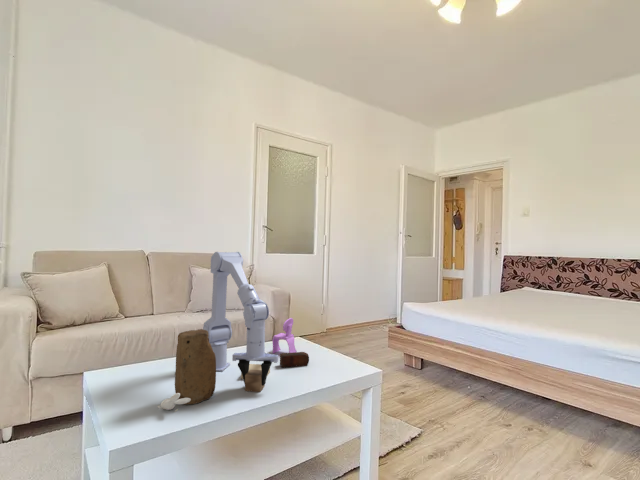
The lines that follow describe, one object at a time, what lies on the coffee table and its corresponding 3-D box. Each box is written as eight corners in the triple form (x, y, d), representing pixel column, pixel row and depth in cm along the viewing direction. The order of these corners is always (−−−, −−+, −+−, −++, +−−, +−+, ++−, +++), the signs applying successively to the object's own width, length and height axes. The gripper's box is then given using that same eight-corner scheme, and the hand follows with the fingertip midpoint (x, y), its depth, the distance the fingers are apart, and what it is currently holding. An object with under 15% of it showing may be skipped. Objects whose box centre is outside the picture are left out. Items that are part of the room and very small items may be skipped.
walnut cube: (244, 391, 109) (245, 375, 109) (249, 385, 114) (250, 369, 114) (260, 392, 108) (260, 375, 108) (264, 385, 113) (265, 370, 113)
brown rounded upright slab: (178, 408, 96) (180, 336, 97) (173, 398, 103) (174, 330, 103) (217, 399, 102) (218, 331, 103) (210, 390, 109) (211, 326, 109)
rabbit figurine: (167, 405, 99) (192, 393, 98) (167, 419, 96) (193, 407, 96) (152, 401, 94) (179, 388, 94) (153, 416, 91) (180, 403, 91)
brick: (282, 368, 130) (282, 356, 130) (279, 365, 133) (279, 353, 133) (309, 366, 133) (309, 353, 133) (306, 362, 137) (306, 350, 137)
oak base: (241, 380, 119) (241, 371, 119) (248, 372, 126) (248, 363, 127) (263, 381, 118) (264, 372, 118) (270, 373, 126) (270, 364, 126)
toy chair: (280, 348, 155) (280, 315, 155) (297, 351, 151) (298, 316, 152) (270, 354, 147) (270, 318, 148) (288, 356, 144) (289, 320, 144)
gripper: (229, 343, 108) (228, 387, 108) (274, 345, 106) (274, 390, 106) (237, 337, 115) (236, 379, 115) (280, 339, 113) (279, 381, 113)
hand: (255, 383), depth 111 cm, fingers closed on walnut cube, 5 cm apart
